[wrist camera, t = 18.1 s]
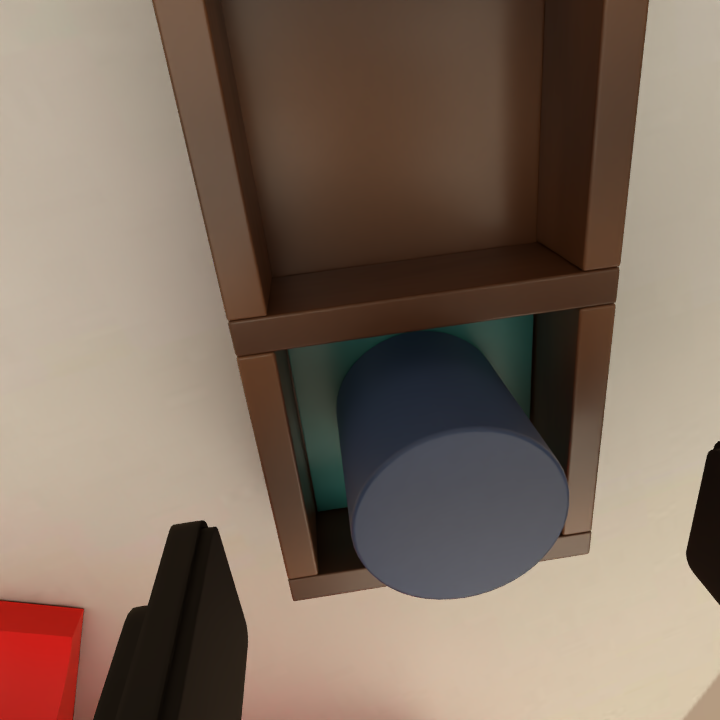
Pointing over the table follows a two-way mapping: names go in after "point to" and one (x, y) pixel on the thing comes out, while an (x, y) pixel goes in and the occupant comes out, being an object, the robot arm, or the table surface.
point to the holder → (409, 216)
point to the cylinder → (444, 470)
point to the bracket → (38, 661)
